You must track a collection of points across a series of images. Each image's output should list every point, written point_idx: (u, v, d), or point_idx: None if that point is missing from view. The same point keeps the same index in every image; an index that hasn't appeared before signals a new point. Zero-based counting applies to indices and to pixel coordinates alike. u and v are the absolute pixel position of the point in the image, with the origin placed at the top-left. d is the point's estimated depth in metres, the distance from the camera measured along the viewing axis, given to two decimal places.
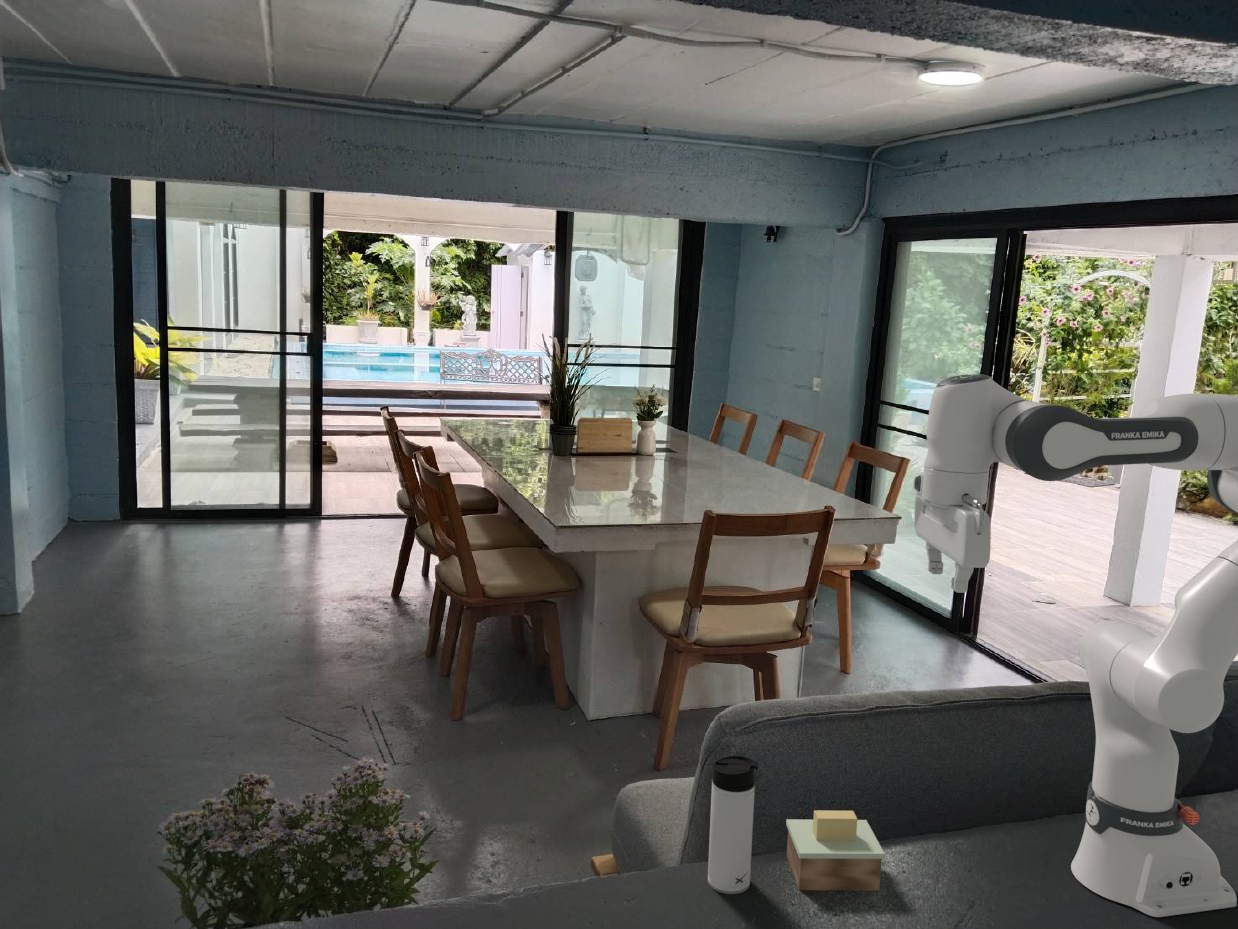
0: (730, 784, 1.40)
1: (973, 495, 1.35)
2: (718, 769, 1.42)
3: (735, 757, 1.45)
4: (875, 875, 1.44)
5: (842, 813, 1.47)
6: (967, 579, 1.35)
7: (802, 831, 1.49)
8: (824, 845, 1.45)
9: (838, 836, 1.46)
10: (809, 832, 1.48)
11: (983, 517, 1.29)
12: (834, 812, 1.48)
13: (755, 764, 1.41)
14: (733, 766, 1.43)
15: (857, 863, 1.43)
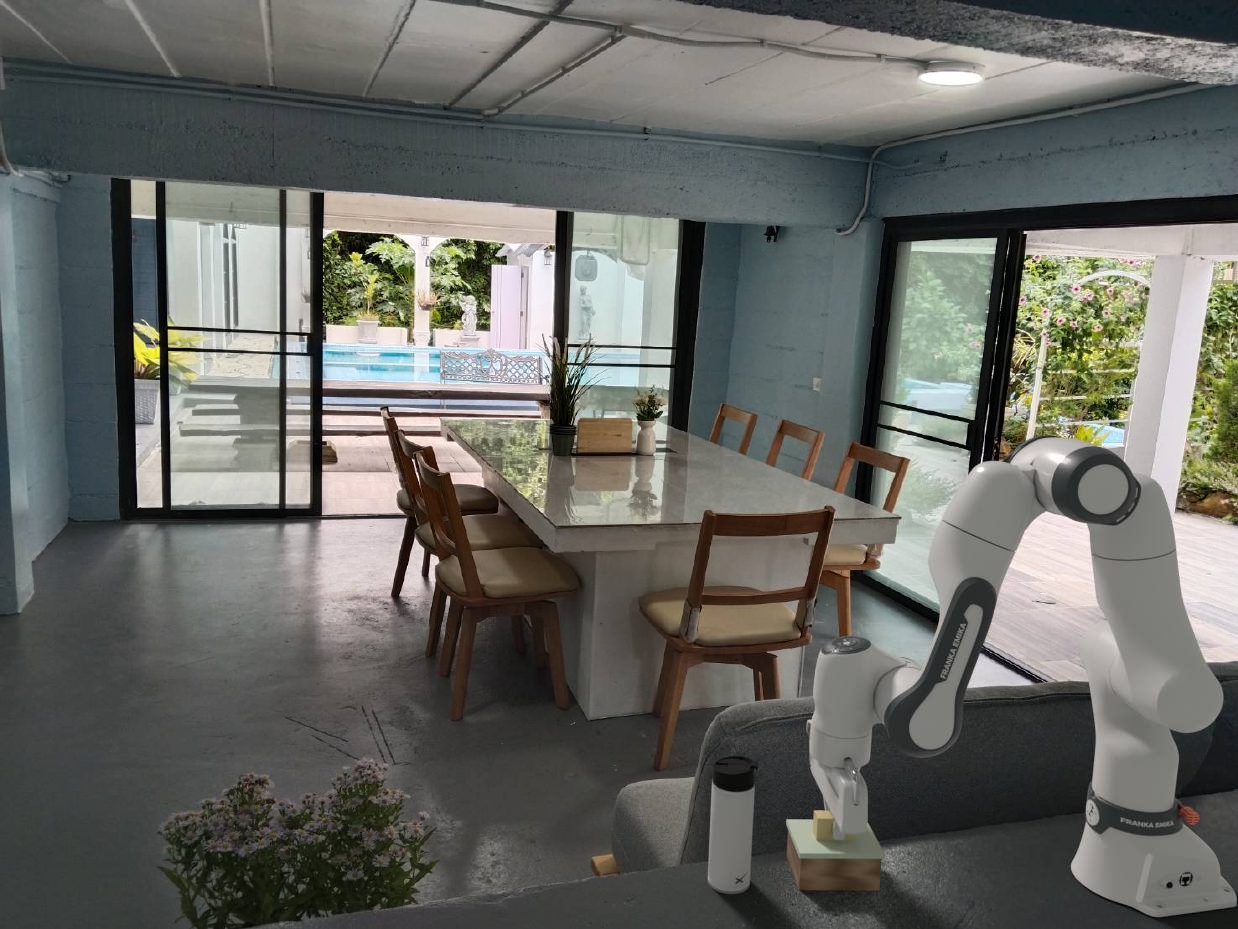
0: (730, 784, 1.40)
1: (854, 758, 1.41)
2: (718, 769, 1.42)
3: (735, 757, 1.45)
4: (875, 875, 1.44)
5: None
6: None
7: (802, 831, 1.49)
8: (824, 845, 1.45)
9: None
10: (809, 832, 1.48)
11: (859, 791, 1.35)
12: None
13: (755, 764, 1.41)
14: (733, 766, 1.43)
15: (857, 863, 1.43)
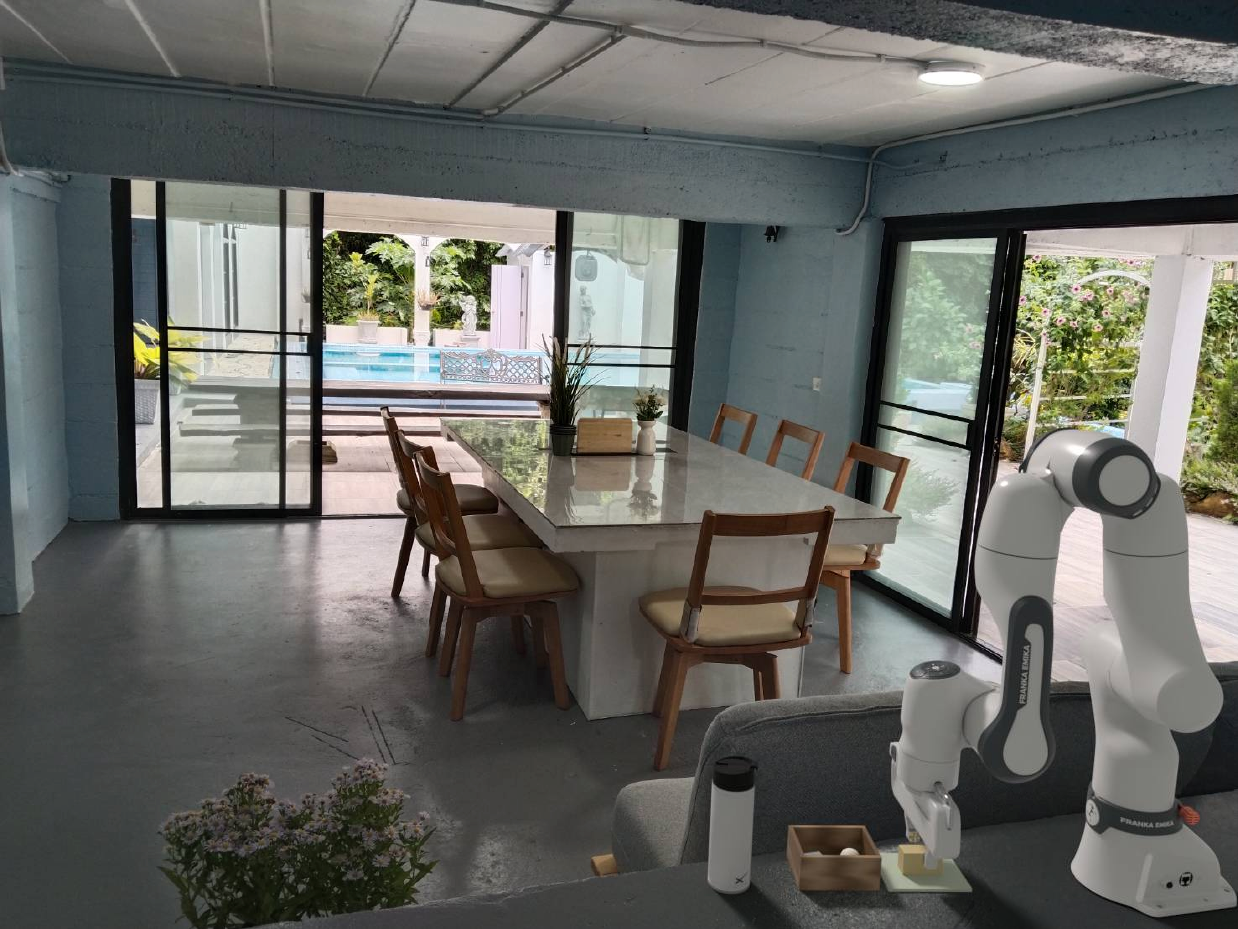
0: (730, 784, 1.40)
1: (944, 783, 1.42)
2: (718, 769, 1.42)
3: (735, 757, 1.45)
4: (875, 875, 1.44)
5: None
6: None
7: (887, 865, 1.50)
8: (911, 880, 1.46)
9: (924, 871, 1.48)
10: (894, 866, 1.50)
11: (953, 816, 1.36)
12: (919, 846, 1.49)
13: (755, 764, 1.41)
14: (733, 766, 1.43)
15: (857, 863, 1.43)
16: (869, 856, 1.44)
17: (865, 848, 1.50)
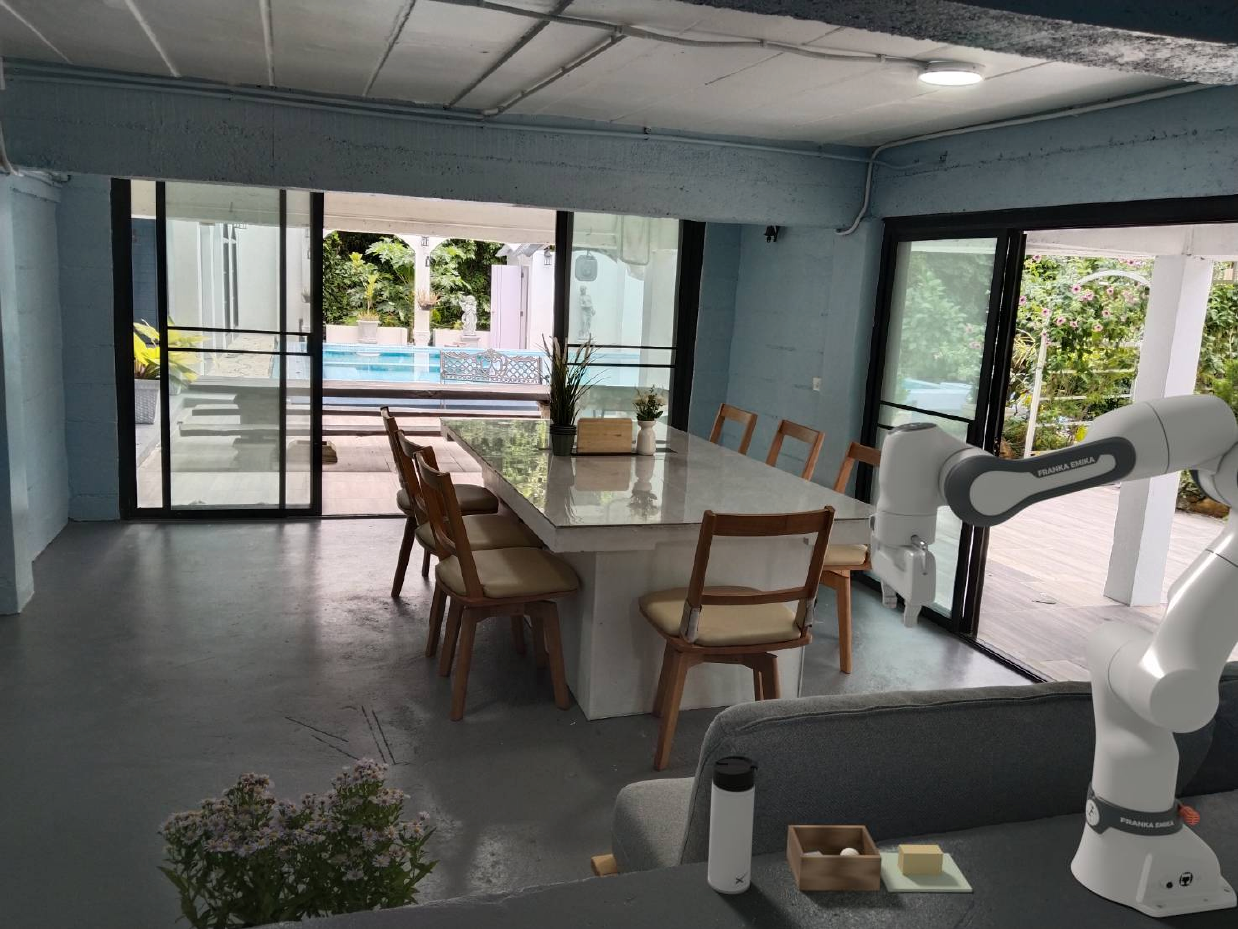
0: (730, 784, 1.40)
1: (921, 536, 1.44)
2: (718, 769, 1.42)
3: (735, 757, 1.45)
4: (875, 875, 1.44)
5: (927, 848, 1.49)
6: (916, 615, 1.44)
7: (887, 865, 1.50)
8: (911, 880, 1.46)
9: (924, 871, 1.48)
10: (894, 866, 1.50)
11: (928, 559, 1.38)
12: (919, 846, 1.49)
13: (755, 764, 1.41)
14: (733, 766, 1.43)
15: (857, 863, 1.43)
16: (869, 856, 1.44)
17: (865, 848, 1.50)
